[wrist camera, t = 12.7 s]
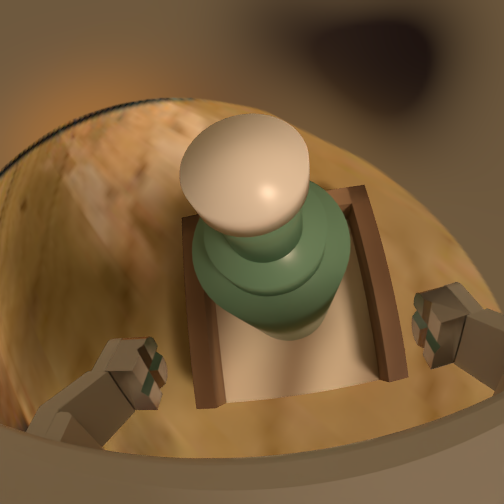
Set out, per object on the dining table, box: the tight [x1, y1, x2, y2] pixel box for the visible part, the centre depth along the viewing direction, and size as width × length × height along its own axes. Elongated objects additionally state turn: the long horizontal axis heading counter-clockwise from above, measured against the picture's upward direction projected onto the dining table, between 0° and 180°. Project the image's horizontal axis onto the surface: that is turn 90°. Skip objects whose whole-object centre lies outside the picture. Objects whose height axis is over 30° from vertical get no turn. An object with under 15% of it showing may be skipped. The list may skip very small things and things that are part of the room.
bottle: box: [180, 114, 350, 341], centre depth 13 cm, size 5×5×15 cm
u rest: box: [182, 185, 408, 409], centre depth 20 cm, size 12×12×4 cm
